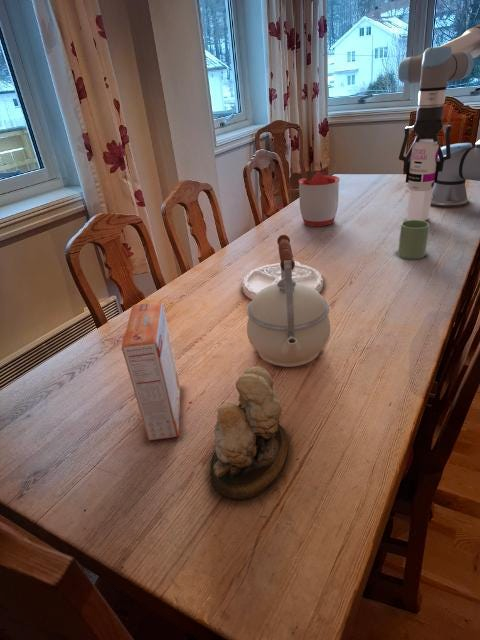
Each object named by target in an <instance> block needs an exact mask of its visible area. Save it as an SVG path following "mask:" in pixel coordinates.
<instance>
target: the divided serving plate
mask: <svg viewBox="0 0 480 640" xmlns="http://www.w3.org/2000/svg"><path fill="white" fill-rule="evenodd" d="M294 262H295V267H294V269H293V270H292V280H293V281H294V282H296V283H301V284H305V285H308V286H310V287H312V288H314V289H315V290H316V291H318V292H319V294H320V293H321V292H322V290H323V287H324V280H323V274H322V273H320V272H319V270H318V269H315V268H314V267H313V266H309V265H307V264H301V262H299V261H297V260H294ZM280 263H281V262H280ZM280 263H279V262H276V263H271V264H270V263H269V264H266V265H263V266H259V267H257V268H254V269H251V271H250V272H247V273H246V275H245V276H244V277H243V278H242V279H243V281H242V291H243V294H244V295H245V296H246V297H247V298H249V299H250V300H251V301H252V300H253V299H254V297H255V296H256V294H257V293H258V292H259V291H261V290H262V289H264V288H266V287H268V286H270V285H273V284H277V283H278V282H279V281H280V280H281V266H280Z"/></svg>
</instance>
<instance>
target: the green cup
mask: <svg viewBox="0 0 480 640" xmlns="http://www.w3.org/2000/svg"><path fill="white" fill-rule="evenodd" d="M429 232H430V222H428V221H427V220H425V221H421V220H404V221H402V222H401V223H400V231H399V239H398V248H397V255H398V256H399V257H400V258H403V259H407V260H420V259H423V258H424V257H425V256H426V253H427V247H428V242H429V241H428V240H429Z"/></svg>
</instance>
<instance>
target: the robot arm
mask: <svg viewBox="0 0 480 640" xmlns="http://www.w3.org/2000/svg"><path fill="white" fill-rule="evenodd" d="M478 57H480V23H479V24H477V25H474V26H473V27H470V28H468V29H467V30H465V31H464V32H463V34H462V35H461V36H458V37H457V38H454V39H452V40H450V41H447V42H445V43H443V44H442V45H439V46H434V47H427V48H426V49H425V50H424V52H423V53H421V54H419V55H416V56H412V55H411V56H409V57H408V56H407V57H404V58H403V59H402V60H401V61H400V63H399V64H398V67H397V68H398V69H397V77H398V80H399V81H400V83H402V84H415V83H416V84H419V91H418V100H417V105H418V107H417V109H416V116H415V123H414V125H412V126H406V127H405V128H404V137H403V141H402V145H401V148H400V152H399V156H398V160H399V161H401V162H403V170H402V171H403V173H406V174H405V175H406V176H405V184H408V179H409V170H410V159H411V154H412V147H413V145H414V144H415V142H419V140H421V139H433V141H434V142H436V141H437V143H438V145H439V149H438V161H437V167H436V174H435V181H434V187H433V190H432V197H431V204H430V206H434V207H438V208H457V207H463V206H466V205H467V203H468V195H467V188H466V180H468V181H477V182H480V139H479V140H478V141H476V142H475V145H474V147H473V144H472V143H471V142H460V143H459V142H458V143H453V144H451V132H452V130H453V129H452V125H451V124H448V125H447V124H444V123H443V115H444V109H445V107H444V106H443V105H444V104H445V102H446V101H445V100H446V94H447V86H448V83H449V82H459V81H461V80H464V79H466V78H467V77H469V75H470V74H471V73H472V71H473V69H474V65H475V62H474V59H476V58H478ZM442 130H443V133H444V134H445V145H444V146H441V144H440V141H439V138H438V134H439V133H440V132H441V131H442ZM413 131H414V132H415V134H416V137H415V139H414V141H413V142H412V144H411V146H410V148H409V150H408V152H407V154H406V155H405V151H406V149H407V146H408V145H407V144H408V141H409V138H410V135H411V134H412V133H413Z"/></svg>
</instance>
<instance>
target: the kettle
mask: <svg viewBox="0 0 480 640" xmlns="http://www.w3.org/2000/svg"><path fill="white" fill-rule="evenodd" d="M276 243H277V245H278V255H279V260H280V266H281V280H280V281H279V282H278V283H277V284H273V285H270V286H268V287H266V288H264V289H262V290H261V291H259V292H258V293H257V294H256V296H255V297H254V299H253V300H252V299H251V301H250V302H249V303H248V305H247V307H246V316H247V317H248V318H247V321H246V322H247V323H246V336H247V338H248V341H249V344H250V345H251V346H252V348H254V350H255V351H256V352H258V355H259V356H260V358H261V359H262V360H264V361H265V362H266V363H269V364H271V365H274V366H276V367H277V366H278V367H283V368H285V367H286V368H291V367H299V366H304V365H306V364H308V363H311V362H313V361H314V360H315V359H316V358H317V357H318V356H319V354H320V353H321V350H322V349H323V348H324V347H325V346H326V344H327V343H328V341H329V339H330V336H331V321H330V318H329V312H330V305H329V303H328V301H327V300H326V299H325V298H324V297H323V296H322V295H321V294H320V293H319V292H318V291H316V290H315V289H314V288H312V287H310V286H308V285H305V284H301V283H296V282H294V281H293V280H292V270H293V269H294V267H295V262H294V261H295V260H294V255H293V251H292V246H291V239H290V237H289V236H288V235H287V234H279V236H278V237H277V241H276Z"/></svg>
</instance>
